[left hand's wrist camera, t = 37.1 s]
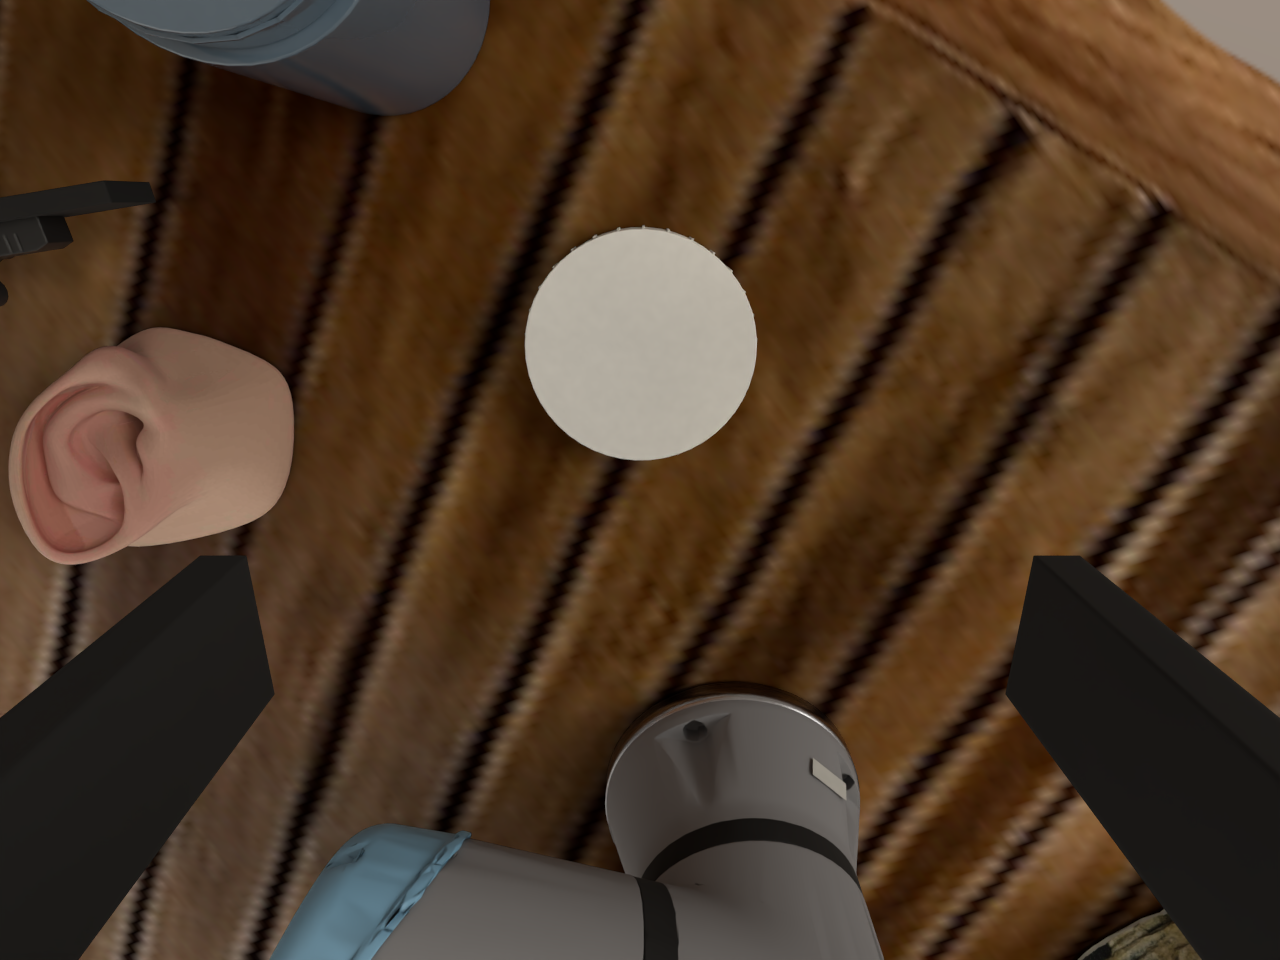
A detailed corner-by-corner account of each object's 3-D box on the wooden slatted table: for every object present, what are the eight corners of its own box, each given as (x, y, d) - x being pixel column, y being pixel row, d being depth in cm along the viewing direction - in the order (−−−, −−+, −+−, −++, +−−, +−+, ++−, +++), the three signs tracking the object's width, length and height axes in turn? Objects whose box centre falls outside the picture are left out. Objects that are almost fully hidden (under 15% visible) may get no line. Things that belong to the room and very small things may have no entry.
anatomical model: (232, 332, 33) (293, 567, 37) (274, 318, 37) (325, 533, 41) (-63, 353, 33) (29, 583, 37) (8, 337, 37) (84, 548, 41)
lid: (515, 236, 35) (507, 238, 33) (747, 215, 35) (755, 216, 33) (544, 454, 39) (539, 470, 37) (754, 438, 39) (761, 452, 37)
